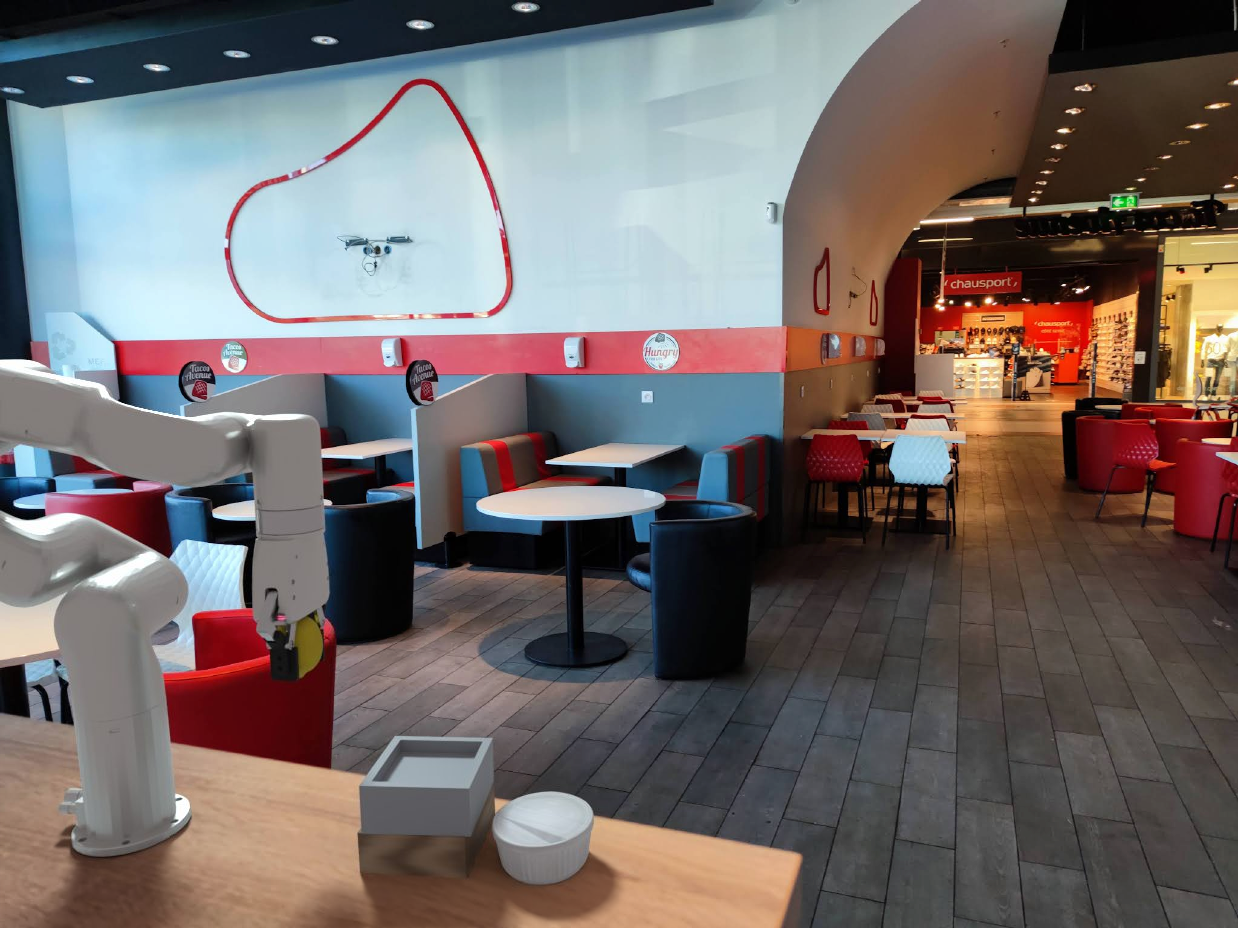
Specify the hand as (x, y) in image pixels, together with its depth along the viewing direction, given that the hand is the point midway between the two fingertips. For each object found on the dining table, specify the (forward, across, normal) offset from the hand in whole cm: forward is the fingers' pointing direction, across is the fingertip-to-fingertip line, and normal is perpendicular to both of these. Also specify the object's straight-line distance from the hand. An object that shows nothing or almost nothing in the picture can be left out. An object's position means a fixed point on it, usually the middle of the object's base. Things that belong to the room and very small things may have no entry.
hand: (299, 668), depth 102 cm
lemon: (+1, 0, 0) cm, 1 cm away
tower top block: (+14, +3, +17) cm, 23 cm away
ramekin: (+19, +5, +31) cm, 37 cm away
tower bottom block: (+19, +4, +17) cm, 26 cm away
